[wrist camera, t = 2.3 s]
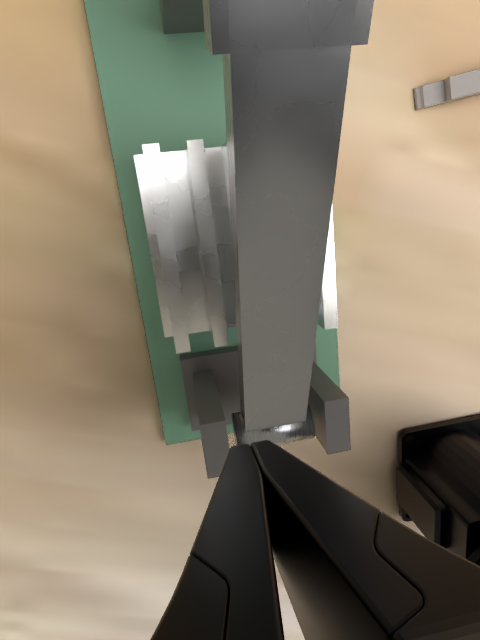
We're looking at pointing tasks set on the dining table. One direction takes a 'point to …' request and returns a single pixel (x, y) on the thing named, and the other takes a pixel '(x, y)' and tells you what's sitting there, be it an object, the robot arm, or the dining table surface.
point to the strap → (281, 189)
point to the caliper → (448, 90)
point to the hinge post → (224, 399)
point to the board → (171, 133)
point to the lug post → (182, 16)
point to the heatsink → (200, 242)
